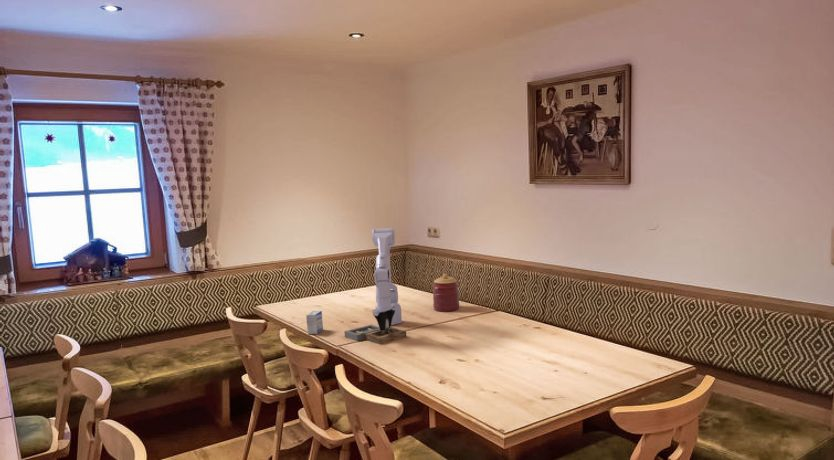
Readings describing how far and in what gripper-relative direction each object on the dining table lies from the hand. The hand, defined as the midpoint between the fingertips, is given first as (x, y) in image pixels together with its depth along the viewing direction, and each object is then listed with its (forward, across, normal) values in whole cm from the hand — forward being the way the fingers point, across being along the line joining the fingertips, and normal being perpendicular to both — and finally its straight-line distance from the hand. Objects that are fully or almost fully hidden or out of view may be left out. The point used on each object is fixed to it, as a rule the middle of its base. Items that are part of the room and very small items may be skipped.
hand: (385, 328), depth 250 cm
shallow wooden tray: (+4, 0, 0) cm, 4 cm away
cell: (+2, 0, 0) cm, 2 cm away
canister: (+4, -54, +1) cm, 54 cm away
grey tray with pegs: (+4, 0, -11) cm, 12 cm away
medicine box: (+4, +3, -35) cm, 36 cm away
